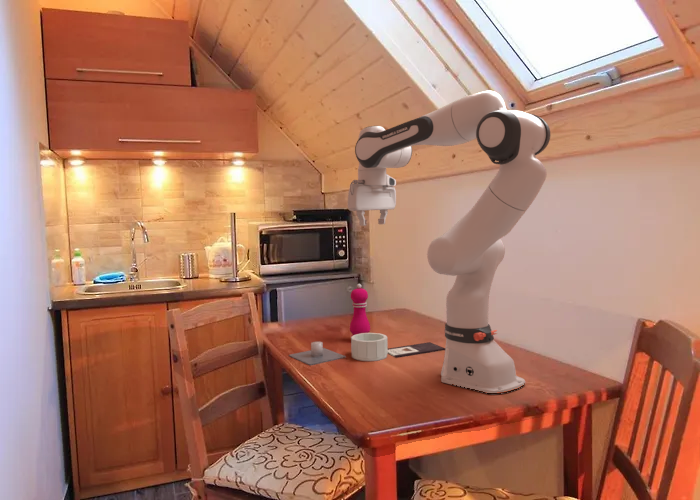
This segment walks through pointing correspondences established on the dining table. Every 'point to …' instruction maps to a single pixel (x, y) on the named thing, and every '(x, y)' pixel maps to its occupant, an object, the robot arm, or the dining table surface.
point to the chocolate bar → (414, 349)
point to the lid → (317, 355)
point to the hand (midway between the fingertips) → (372, 224)
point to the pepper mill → (359, 311)
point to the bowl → (369, 346)
